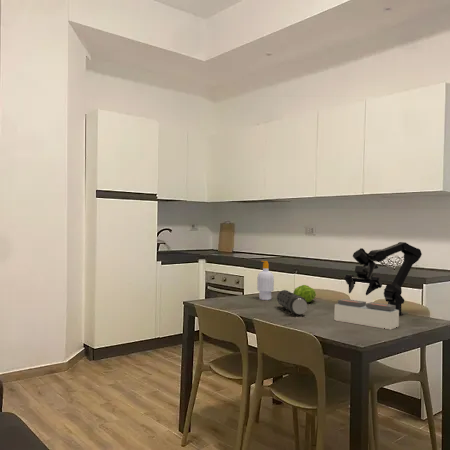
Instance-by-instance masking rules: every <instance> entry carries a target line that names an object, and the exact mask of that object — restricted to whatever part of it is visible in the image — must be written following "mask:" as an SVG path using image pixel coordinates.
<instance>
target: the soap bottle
mask: <svg viewBox="0 0 450 450" xmlns="http://www.w3.org/2000/svg"><path fill="white" fill-rule="evenodd" d="M260 262H263V263H262V270H261V271H260V272H259V273H258V275H257V281H256V282H257V283H256V284H257V286H256V289H257V291H259V292H258V294H259V300H262V301H270V300H272V292H273V291H274V289H275V288H274V285H275V284H274V283H275V279H274V278H275V277H274V276H275V275H274V274H273V272H271V271H269V265H270V264H269V262H268V260H261V261H260Z"/></svg>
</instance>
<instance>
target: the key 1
mask: <svg viewBox="0 0 450 450" xmlns="http://www.w3.org/2000/svg"><path fill="white" fill-rule="evenodd" d="M366 303H367V301H363V300H357V299H356V300H355V299H349V298H342V299H338V300H337V304H343V305H350V306H358V307H362V306H365V305H366Z"/></svg>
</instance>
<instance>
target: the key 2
mask: <svg viewBox="0 0 450 450" xmlns="http://www.w3.org/2000/svg"><path fill="white" fill-rule="evenodd" d="M366 307H367V308H374V309H381V310H389V311H391V310H394V309H396V305H390V304H388V303H383V302H382V303H381V302H373V301H372V302H366Z"/></svg>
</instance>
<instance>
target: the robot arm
mask: <svg viewBox="0 0 450 450" xmlns="http://www.w3.org/2000/svg"><path fill="white" fill-rule="evenodd" d="M399 252H401V253H402V254H403V262H402V264H401V265H400V267H399V270H398V271H397V273H396V275H395V277H394V279H393V280H392V283H390V284H389V283H387V284H386V286H385V288H384V289H383V297H384V299H385V302H387V304H390V305H396V310H399V316H403V315H404V314H403V313H402V304H404V303H405V299H404V297H403V296H402V293H403V292H402V286H403V284H404V283H405V280H406V279H407V277H408V275H409V273H410V271H411V269H412V268H413V265H414V264H416V263H417V262H418V261H419V260H420V259H421V257H422V255H423V253H422V251H421V249H420V248H417V247H415V246H413V245H411V244H409V243H407V242H403V241H400V242H398V243H396V244H392V245H390V246H387V247H384V248H381V249H372V250H370V251H369V252H368V253H367V251H365V248H361V247H360V248H359V249H357V250H356V251H355V252H353V254H352V257H353V259H354V260H355V261H356V262H357V263H358V264H359V265H355V268H354V273H355V274H356V277H355V276H354V275H353V274H345V275H344V277H343V279H344V280H345V283H346V284H347V285H348V293H349V294H351V293H352V292H353V289H354V287H355V285H356V283H362V284H368V287H367V289H366V291H365V296H369V294H371V293H373V292H374V291H375V290H377V289H378V290H379V289H381V288H382V286H383V282H382V280H381V278H380V276H374V275H373V272H374V270H377V269H379V266H378V264H377V263H376V262H378V263H381V262H383V261H384V260H386V259H387V257H389V256H392V255H394V254H397V253H399Z"/></svg>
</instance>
